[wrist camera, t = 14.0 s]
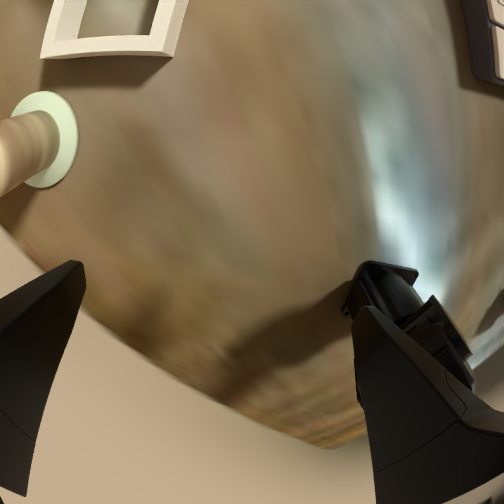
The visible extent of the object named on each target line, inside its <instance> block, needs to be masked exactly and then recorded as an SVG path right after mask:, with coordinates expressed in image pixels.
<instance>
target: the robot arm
mask: <svg viewBox="0 0 504 504" xmlns="http://www.w3.org/2000/svg"><path fill="white" fill-rule="evenodd" d="M371 265H372V266H371ZM369 266H371V267H369ZM413 274H414V275H413ZM418 275H419V273H418V271H417V270H416V269H412V268H407V267H402V266H397V265H392V264H387V263H382V262H376V261H368V262H366V263H365V265H364V267H363V269H362V271H361V273H360V275H359V277H358V279H357V281H356V282H355V284H354V286H353V288H352V290H351V292H350V294H349V296H348V298H347V300H346V302H345V304H344V306H343V308H342V310H341V314H342V316H343V317H351V318H352V319H353V323H352V326H351V331H352V339H353V348H354V357H355V358H354V367H355V380H356V392H357V400H358V402H359V403H360V406H361V407H362V408H363V410H364V413H365V419H366V425H367V432H368V438H369V445H370V452H371V459H372V467H373V473H374V475H373V476H374V485H375V495H376V504H504V412H500V411H497V410H495V409H493V408H491V407H490V406H489V405H487V404H486V403H485V402H484V401H483V400H482V399H480V398H479V397H478V396H477V395H475V374H474V372H473V371H472V369H471V367H470V365H469V364H468V362H467V359H468V358H469V357H471V356H472V355H473V354H472V352H471V350H470V348H469V346H468V344H467V343H466V341H465V339H464V337H463V335H462V334H461V332H460V331H459V329H458V328H457V326H456V325H455V323H454V322H453V320H452V319H451V317H450V316H449V314H448V313H447V312H446V310H445V309H444V308H443V307H442V305H441V304H440V303H439V301H438V300H437V299H436V298H435V296H434V295H432V296H431V297H430V298H429V300H428V301H427V302H426V303H425V304H424V303H423V301H422V300H421V298H420V297H419V295H418V294H417V292H416V291H415V289H414V288H413V287H412V286H413V284H414V282H415V281H416V279H417V277H418ZM85 290H86V278H85V272H84V266H83V263H82V262H80V261H75V260H69V261H67V262H65V263H63V264H62V265H60V266H58V267H56V268H54V269H52V270H50V271H48V272H47V273H45V274H43V275H41V276H39V277H38V278H36V279H34V280H32V281H30V282H28V283H27V284H25V285H23V286H21V287H20V288H18V289H17V290H14V291H13V292H11V293H10V294H8V295H6V296H5V297H3V298H1V299H0V486H1V487H3V488H5V489H7V490H9V491H12V492H14V493H16V494H19V495H21V496H24V497H26V494H27V488H28V481H29V474H30V469H31V463H32V458H33V453H34V448H35V444H36V443H35V442H36V439H37V435H38V431H39V427H40V423H41V419H42V416H43V412H44V409H45V405H46V402H47V399H48V395H49V392H50V389H51V386H52V383H53V380H54V377H55V374H56V372H57V369H58V366H59V363H60V361H61V358H62V355H63V353H64V350H65V347H66V345H67V343H68V340H69V338H70V335H71V333H72V330H73V327H74V324H75V320H76V317H77V314H78V311H79V308H80V305H81V302H82V299H83V296H84V293H85ZM0 504H4V503H3V501H2V499H1V497H0Z"/></svg>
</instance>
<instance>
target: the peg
mask: <svg viewBox="0 0 504 504" xmlns="http://www.w3.org/2000/svg"><path fill="white" fill-rule="evenodd" d="M59 147H60V132H59V128H58V125H57V123H56V121H55V119H54V118H53V117H52V116H51V115H50V114H49V113H48V112H46V111H42V110H36V111H32V112H28V113H24V114H21V115H17V116H14V117H10V118H7V119H4V120H1V121H0V197H2V196H3V195H5V194H6V193H8V192H9V191H11V190H12V189H14V188H15V187H17V186H18V185H20V184H21V183H23V182H25V181H26V180H28V179H29V178H31V177H33V176H34V175H36V174H38V173H39V172H41V171H43V170H45V169H46V168H48V167H49V166H50V165H51V164H52V163H53V162H54V161H55V159H56V157H57V155H58V151H59Z"/></svg>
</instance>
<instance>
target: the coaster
mask: <svg viewBox="0 0 504 504" xmlns="http://www.w3.org/2000/svg"><path fill="white" fill-rule="evenodd" d="M36 110H42V111H46V112H48V113H49V114H50V115H51V116H52V117H53V118H54V119H55V121H56V123H57V125H58V128H59V132H60V147H59V151H58V155H57V157H56V159H55V161H54V162H53V163H52V164H51V165H50V166H49V167H48V168H46V169H45V170H43V171H41V172H39V173H38V174H36V175H34V176H33V177H31V178H29V179H28V180H26V181H25V183H26V184H28V185H30V186H33V187H37V188H44V187H48V186H51V185H53V184H55V183H57V182H58V181H59V180H61V179H62V178H63V177H64V176H65V175H66V174H67V173H68V172H69V170H70V169H71V167H72V165H73V163H74V161H75V158H76V155H77V151H78V145H79V129H78V123H77V119H76V116H75V113H74V111H73V109H72V107H71V106H70V104H69V103H68V102H67V100H66V99H64V98H63V97H62V96H61V95H59V94H57V93H55V92H51V91H41V92H36V93H33V94H30V95H29V96H27V97H25V98H24V99H23V100H22V101H21V102H20V103H19V104H18V105H17V107H16V108H15V109H14V111H13V113H12V115H11V117H14V116H17V115H21V114H24V113H28V112H32V111H36Z"/></svg>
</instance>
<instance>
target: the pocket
mask: <svg viewBox="0 0 504 504" xmlns="http://www.w3.org/2000/svg"><path fill="white" fill-rule="evenodd" d="M188 2H189V0H159V3H158V6H157V10H156V13H155V17H154V20H153V24H152V27H151V31H150V35H127V36H105V37H93V38H83V39H77V36H78V32H79V28H80V24H81V20H82V17H83V13H84V10H85V7H86V3H87V0H54V3H53V6H52V10H51V13H50V17H49V20H48V24H47V28H46V32H45V36H44V40H43V45H42V50H41V55H40V58H44V59H68V58H79V57H91V56H114V55H142V56H165V57H174V54H175V49H176V45H177V41H178V37H179V33H180V30H181V26H182V22H183V19H184V15H185V12H186V8H187V5H188Z"/></svg>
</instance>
